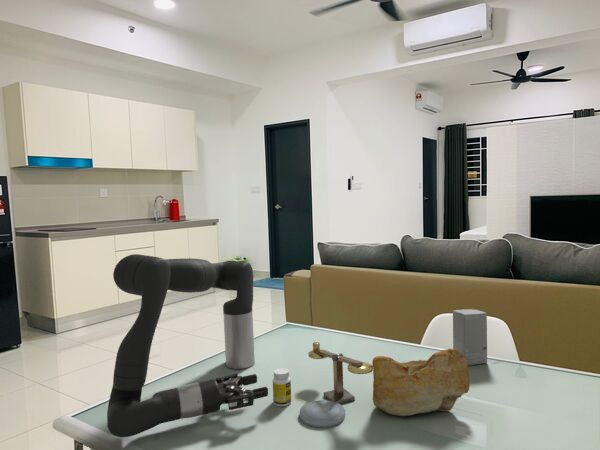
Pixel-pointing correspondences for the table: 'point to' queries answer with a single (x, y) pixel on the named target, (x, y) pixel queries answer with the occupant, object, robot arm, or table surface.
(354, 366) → the balance
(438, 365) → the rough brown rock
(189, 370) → the table surface
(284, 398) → the supplement bottle
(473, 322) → the skincare box
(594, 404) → the table surface
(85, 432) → the table surface
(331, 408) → the dish
